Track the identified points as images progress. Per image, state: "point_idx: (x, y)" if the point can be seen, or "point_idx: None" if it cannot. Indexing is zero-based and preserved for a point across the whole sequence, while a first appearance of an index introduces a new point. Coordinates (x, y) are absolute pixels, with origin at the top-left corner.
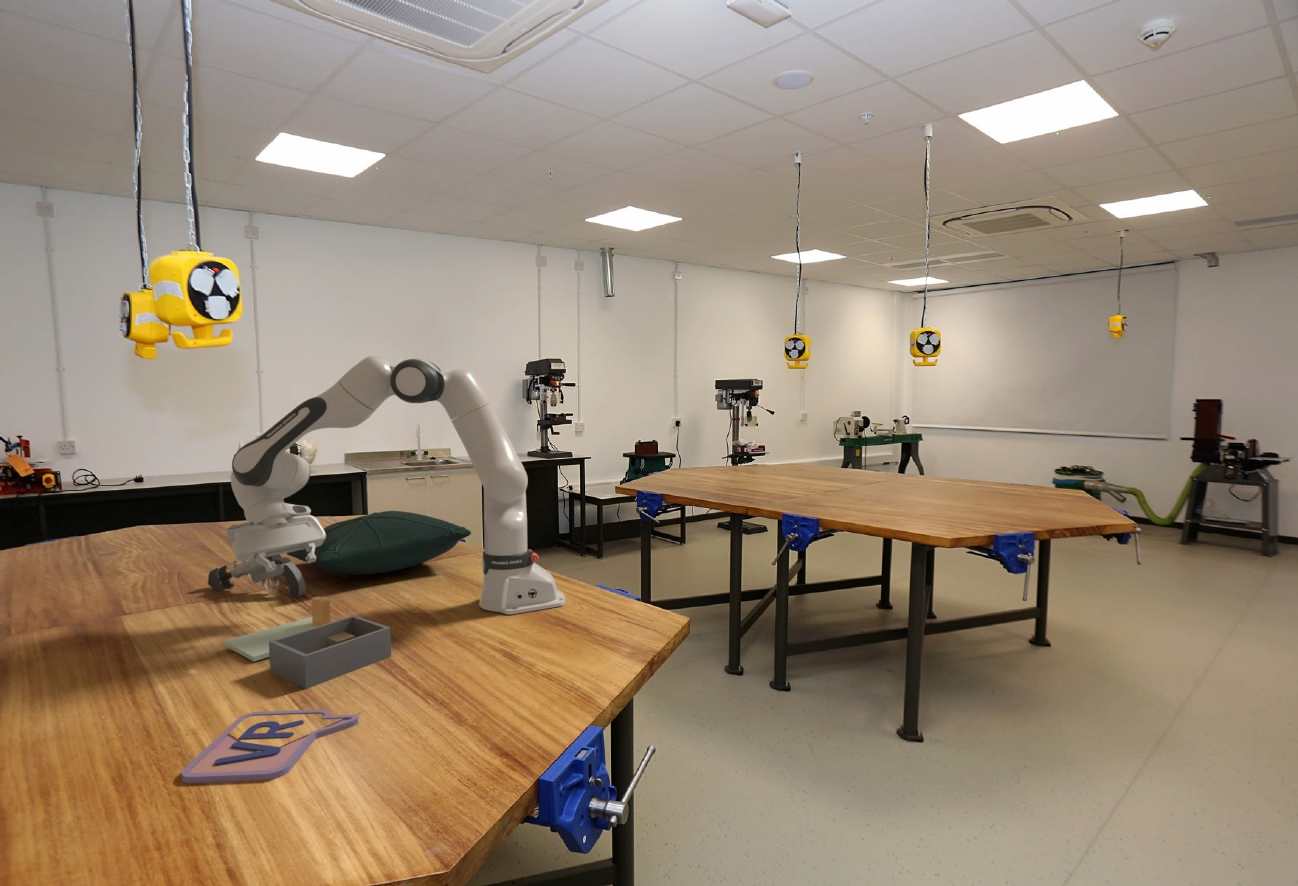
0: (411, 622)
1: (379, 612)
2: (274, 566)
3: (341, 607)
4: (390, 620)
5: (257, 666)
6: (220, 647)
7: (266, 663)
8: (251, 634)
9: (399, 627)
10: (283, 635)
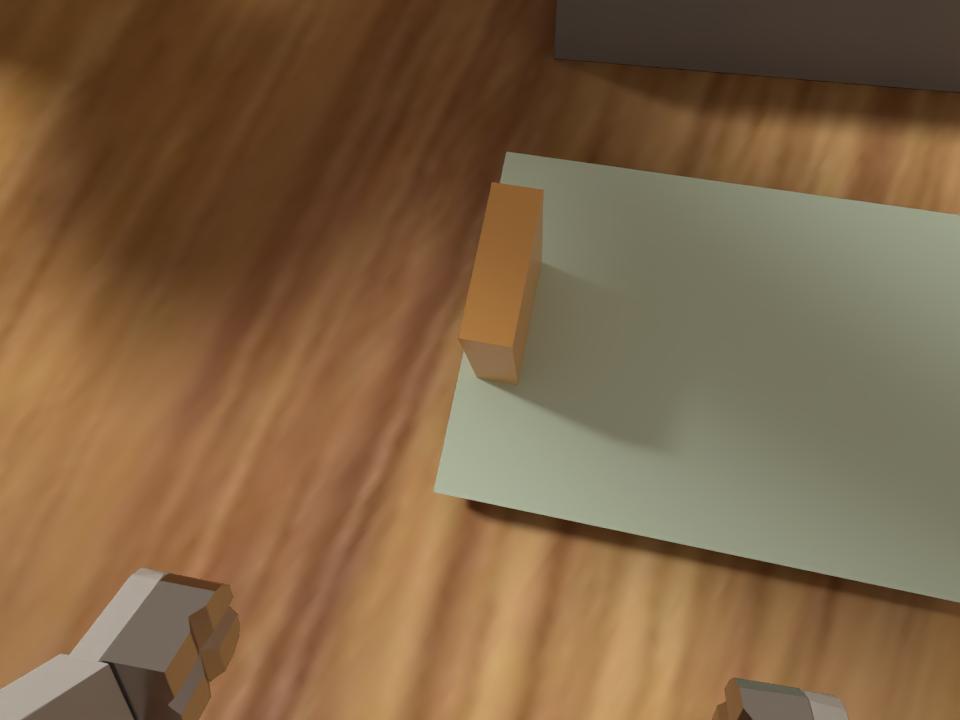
0: (208, 76)
1: (140, 328)
2: (765, 692)
3: None
4: (221, 182)
5: None
6: (933, 676)
7: None
8: (826, 553)
9: (283, 73)
10: (730, 360)
